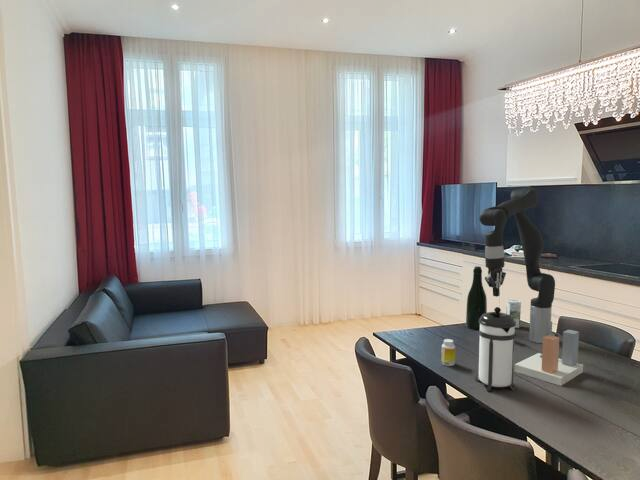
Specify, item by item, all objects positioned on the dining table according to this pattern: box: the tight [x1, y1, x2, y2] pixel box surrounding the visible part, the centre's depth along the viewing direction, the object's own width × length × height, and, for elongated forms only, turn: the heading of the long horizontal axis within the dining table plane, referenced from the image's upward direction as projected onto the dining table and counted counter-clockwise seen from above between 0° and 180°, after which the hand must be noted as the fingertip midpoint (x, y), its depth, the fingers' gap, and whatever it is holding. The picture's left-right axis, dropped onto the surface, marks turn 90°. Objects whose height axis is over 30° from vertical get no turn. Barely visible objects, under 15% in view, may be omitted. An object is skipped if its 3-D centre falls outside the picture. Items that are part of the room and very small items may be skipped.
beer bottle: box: [465, 265, 488, 331], centre depth 241 cm, size 10×10×33 cm
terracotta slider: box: [541, 335, 560, 373], centre depth 175 cm, size 4×5×13 cm
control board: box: [514, 352, 584, 387], centre depth 182 cm, size 18×20×4 cm
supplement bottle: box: [440, 338, 456, 367], centre depth 191 cm, size 6×6×10 cm
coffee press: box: [474, 306, 517, 392], centre depth 170 cm, size 17×16×30 cm
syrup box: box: [505, 299, 522, 329], centre depth 242 cm, size 6×6×14 cm
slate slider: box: [561, 329, 580, 366], centre depth 181 cm, size 4×5×13 cm
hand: (496, 296), depth 193 cm, fingers closed
